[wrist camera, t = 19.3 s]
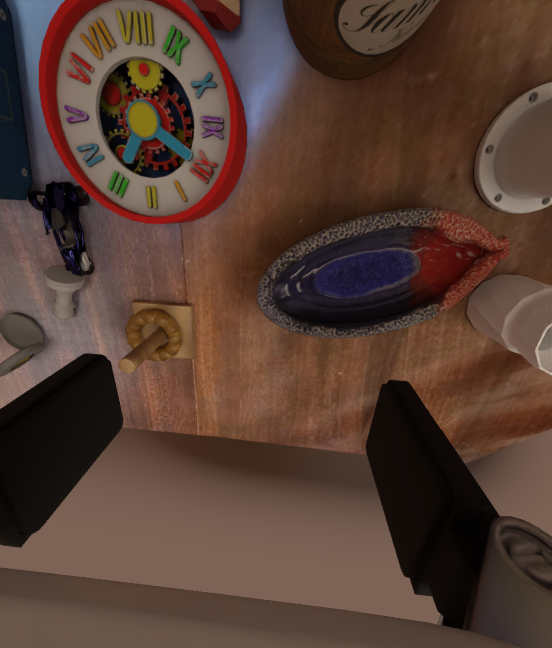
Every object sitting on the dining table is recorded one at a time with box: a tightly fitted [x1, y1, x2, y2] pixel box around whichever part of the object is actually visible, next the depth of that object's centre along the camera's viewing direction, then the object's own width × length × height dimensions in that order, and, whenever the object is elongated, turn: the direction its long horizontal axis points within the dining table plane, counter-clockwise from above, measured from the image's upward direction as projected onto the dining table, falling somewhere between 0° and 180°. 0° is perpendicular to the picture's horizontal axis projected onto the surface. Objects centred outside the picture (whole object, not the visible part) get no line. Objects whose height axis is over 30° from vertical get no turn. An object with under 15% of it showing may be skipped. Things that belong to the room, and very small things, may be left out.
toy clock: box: [39, 0, 247, 224], centre depth 29 cm, size 20×6×20 cm
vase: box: [466, 274, 552, 375], centre depth 32 cm, size 9×9×12 cm
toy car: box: [28, 181, 94, 276], centre depth 35 cm, size 12×6×4 cm, turn 5°
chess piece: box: [43, 266, 85, 320], centre depth 39 cm, size 5×5×8 cm
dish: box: [257, 208, 510, 338], centre depth 34 cm, size 16×31×5 cm, turn 101°
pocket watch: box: [0, 314, 44, 377], centre depth 39 cm, size 8×8×10 cm
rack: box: [118, 300, 197, 373], centre depth 37 cm, size 9×9×11 cm
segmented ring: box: [125, 309, 182, 361], centre depth 40 cm, size 8×8×2 cm
